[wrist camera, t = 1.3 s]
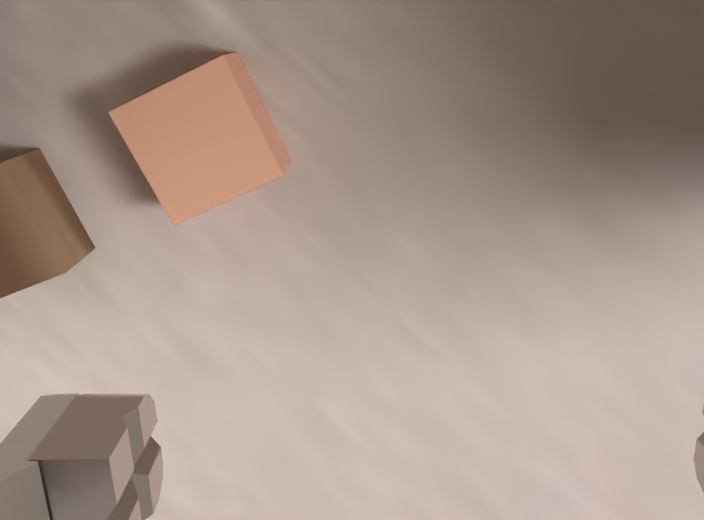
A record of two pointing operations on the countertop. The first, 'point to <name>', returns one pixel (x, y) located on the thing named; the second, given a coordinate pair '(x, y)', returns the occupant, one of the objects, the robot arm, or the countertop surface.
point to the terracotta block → (202, 138)
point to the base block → (36, 225)
